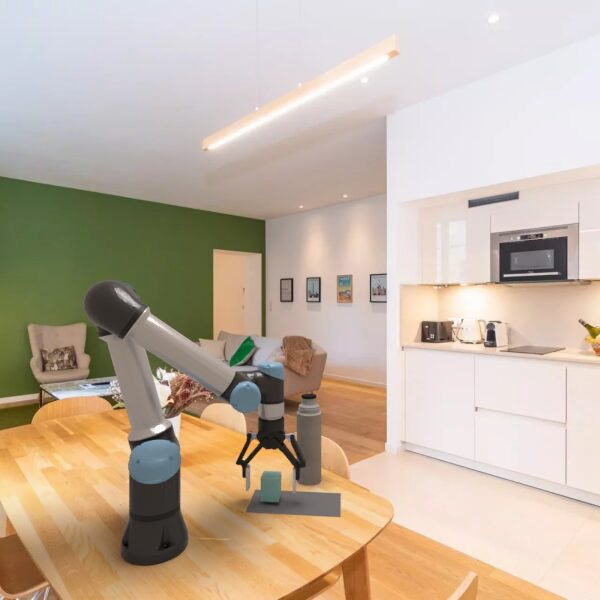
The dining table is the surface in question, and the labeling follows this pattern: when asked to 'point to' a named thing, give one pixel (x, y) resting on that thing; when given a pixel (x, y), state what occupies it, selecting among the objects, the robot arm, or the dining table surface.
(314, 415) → the thermos bottle
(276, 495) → the teal rectangular block
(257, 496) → the mat
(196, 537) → the dining table surface
